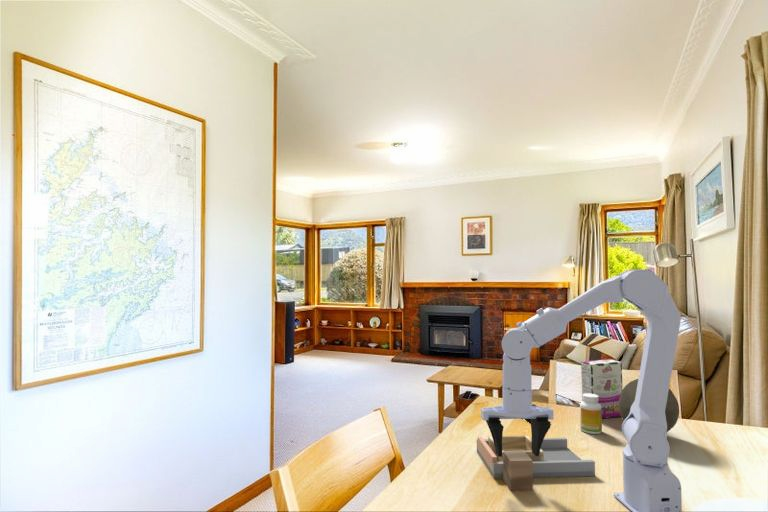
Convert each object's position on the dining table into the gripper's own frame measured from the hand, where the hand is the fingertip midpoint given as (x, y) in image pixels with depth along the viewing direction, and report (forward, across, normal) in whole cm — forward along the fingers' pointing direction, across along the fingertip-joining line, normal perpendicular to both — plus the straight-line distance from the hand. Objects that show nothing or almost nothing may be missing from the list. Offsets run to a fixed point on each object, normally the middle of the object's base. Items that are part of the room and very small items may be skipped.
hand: (517, 454), depth 90 cm
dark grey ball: (+6, -44, -24) cm, 51 cm away
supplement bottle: (+6, -31, -29) cm, 43 cm away
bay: (+6, -7, -10) cm, 14 cm away
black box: (+7, -19, -38) cm, 43 cm away
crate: (+5, -3, -10) cm, 12 cm away
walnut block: (+6, 0, 0) cm, 6 cm away
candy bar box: (+6, -41, -41) cm, 58 cm away
